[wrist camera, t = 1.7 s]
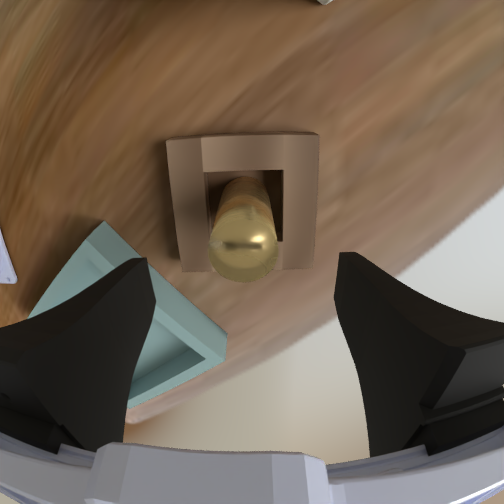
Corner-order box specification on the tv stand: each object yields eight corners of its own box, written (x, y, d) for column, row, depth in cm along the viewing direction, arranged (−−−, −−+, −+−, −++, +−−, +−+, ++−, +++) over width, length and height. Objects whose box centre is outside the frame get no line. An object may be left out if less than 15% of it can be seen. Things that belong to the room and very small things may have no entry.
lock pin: (222, 222, 20) (211, 283, 14) (219, 177, 19) (204, 221, 12) (269, 221, 20) (277, 281, 14) (268, 176, 19) (278, 218, 12)
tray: (136, 386, 28) (129, 408, 26) (36, 306, 24) (22, 326, 21) (227, 333, 25) (225, 360, 22) (104, 220, 20) (85, 239, 17)
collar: (186, 260, 21) (182, 272, 20) (172, 137, 17) (165, 140, 16) (309, 257, 21) (312, 268, 20) (314, 132, 17) (319, 135, 16)
